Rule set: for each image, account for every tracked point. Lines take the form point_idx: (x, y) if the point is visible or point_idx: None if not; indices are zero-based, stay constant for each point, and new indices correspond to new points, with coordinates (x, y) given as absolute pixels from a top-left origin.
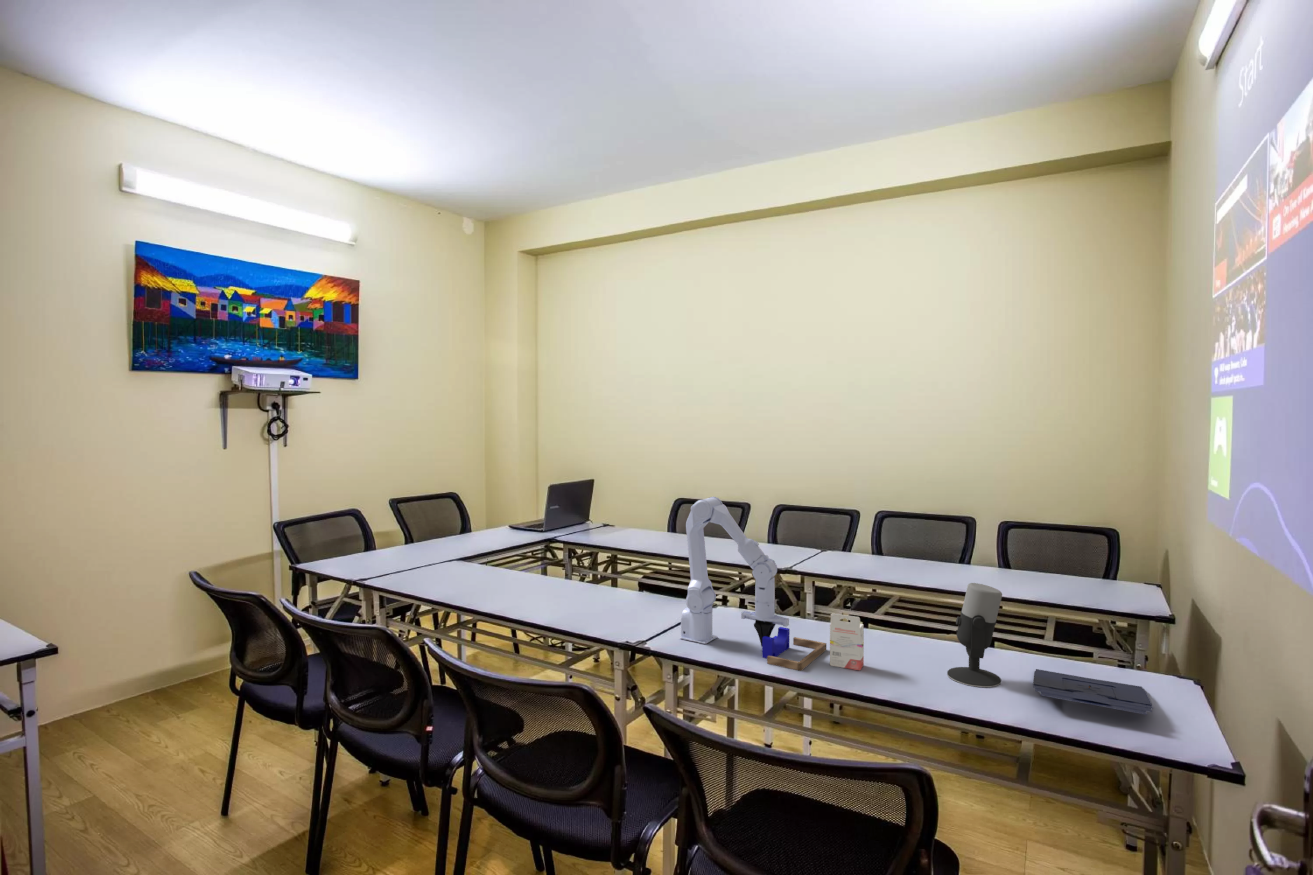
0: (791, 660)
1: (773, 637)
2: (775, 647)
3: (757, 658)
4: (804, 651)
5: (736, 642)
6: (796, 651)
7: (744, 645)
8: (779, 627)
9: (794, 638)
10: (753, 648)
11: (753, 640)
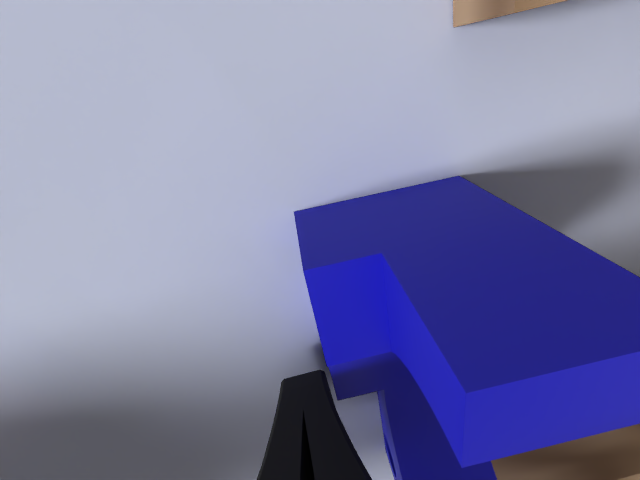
0: (633, 476)
1: (328, 339)
2: (494, 476)
3: (374, 473)
4: (631, 149)
5: (6, 420)
6: (556, 209)
7: (120, 415)
8: (468, 429)
9: (530, 8)
10: (226, 406)
11: (21, 282)
